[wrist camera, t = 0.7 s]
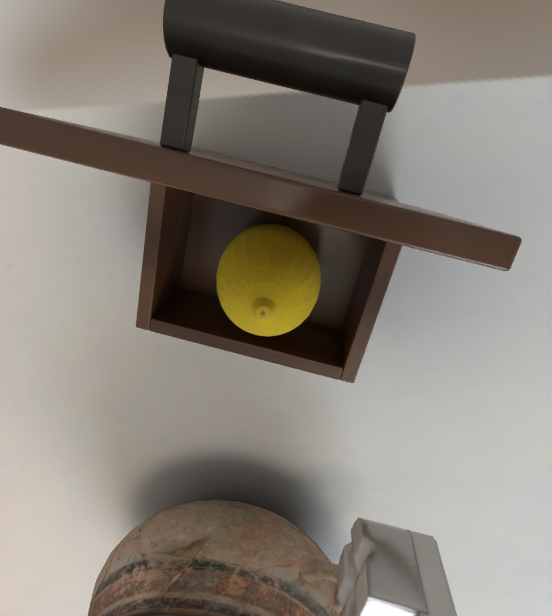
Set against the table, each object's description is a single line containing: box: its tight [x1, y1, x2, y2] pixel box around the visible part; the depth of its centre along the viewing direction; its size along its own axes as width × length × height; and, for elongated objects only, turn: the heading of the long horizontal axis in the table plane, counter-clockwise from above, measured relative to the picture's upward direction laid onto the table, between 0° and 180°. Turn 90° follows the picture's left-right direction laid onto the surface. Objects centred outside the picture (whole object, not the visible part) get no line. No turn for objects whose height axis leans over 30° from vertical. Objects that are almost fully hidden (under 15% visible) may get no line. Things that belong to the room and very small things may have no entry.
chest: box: [136, 147, 402, 383], centre depth 24 cm, size 10×13×6 cm
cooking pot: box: [88, 500, 343, 616], centre depth 32 cm, size 25×19×12 cm
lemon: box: [216, 224, 321, 336], centre depth 23 cm, size 6×6×8 cm
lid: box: [0, 0, 522, 271], centre depth 14 cm, size 10×13×5 cm
